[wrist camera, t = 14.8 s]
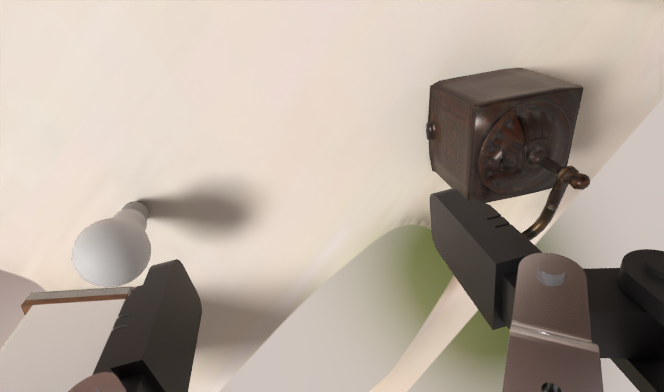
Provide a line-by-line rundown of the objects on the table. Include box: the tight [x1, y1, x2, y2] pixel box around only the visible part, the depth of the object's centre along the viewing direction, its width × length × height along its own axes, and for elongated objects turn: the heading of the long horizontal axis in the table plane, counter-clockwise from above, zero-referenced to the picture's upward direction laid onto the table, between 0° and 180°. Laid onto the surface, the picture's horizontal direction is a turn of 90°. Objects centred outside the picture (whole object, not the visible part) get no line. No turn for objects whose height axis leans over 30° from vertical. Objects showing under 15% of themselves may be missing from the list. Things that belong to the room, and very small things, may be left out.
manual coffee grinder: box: [426, 68, 590, 241], centre depth 35 cm, size 16×11×18 cm
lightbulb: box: [72, 202, 151, 287], centre depth 35 cm, size 6×6×11 cm
